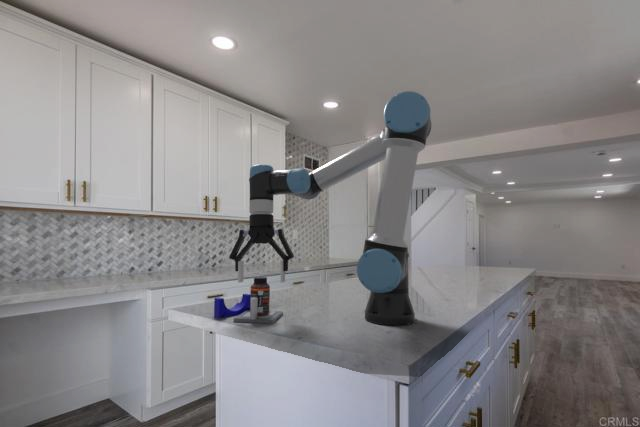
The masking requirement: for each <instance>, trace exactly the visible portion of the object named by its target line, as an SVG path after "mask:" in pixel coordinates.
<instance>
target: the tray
mask: <svg viewBox="0 0 640 427" xmlns="http://www.w3.org/2000/svg"><path fill="white" fill-rule="evenodd" d="M257 305H258V298H251V311H250V310H247V311H245V312H243V313H242V314H240V315H236V316H235V317H234V318H233V323H254V324H255V323H256V324H274V323H275V322H277V321H278V319H280V318H281V317H282V316H284V311H283V310H269V314H267V315H263V316H257Z"/></svg>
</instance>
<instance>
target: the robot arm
mask: <svg viewBox="0 0 640 427" xmlns="http://www.w3.org/2000/svg"><path fill="white" fill-rule="evenodd" d="M383 121H384V123H385V124H384V128H383V129H382V130H381V133H380V134H379V135H378V136H375V137H373V138H372V139H370V140H368V141H366V142H364V143H363V144H360V145H359V146H357V147H355V148H353V149H351V150H350V151H347V152H346V153H344V154H342V155H340V156H338V157H337V158H335V159H333V160H331V161H328V162H327V163H326V164H324V165H322V166H319V167H318V168H315V169H314V170H313V171H310V172H309V171H308V170H307V169H305V168H289V169H282V170H274V168H273V166H272V165H268V164H254V165H252V166H251V167H250V169H249V179H248V183H249V207H248V208H249V212H248V213H249V214H250V215H249V222H248V225H249V229H248V230H245V229H240V230H239V233H238V238H237V239H236V242H235V245H234V246H233V248H232V250H231V252H230V254H229V257H228V258H229V259H230V260H233V261H234V267H235V268H234V269H235V272H237V283H243V282H244V260H242V259H243V258H244V257H245V255H246V254H247V253H248V252H249V250H250V249H251V248H252V247H253V245H257V244H259V245H260V244H269V245H270V246H271V247H272V248H273V250H274V251H275V252H276V254H278V256H279V257H280V258H281V260H280V283H285V282H286V272H288V271H289V261H290V260H292V259H294V257H295V255H294V253H293V251H292V249H291V247H290V245H289V243H288V241H287V239H286V236H285V232H284V229H283V228H279V229H275V228H274V215H273V214H274V196H278V195H291V196H295V197H299V198H301V199H302V200H303V199H304V200H315V198H317V197H318V196H319V195H320V194H321V192H323V191H325V190H326V189H329V188H331V187H332V186H335V185H337V184H339V183H341V182H343V181H345V180H347V179H349V178H351V177H352V176H354V175H357V174H358V173H360V172H362V171H364V170H366V169H368V168H371V167H372V166H374V165H376V164H378V163H380V162H382V161H384V163H383V169H382V174H381V181H380V187H379V191H378V197H377V201H376V202H377V204H376V210H375V214H374V218H373V220H374V221H373V226H372V232H371V234H369V235H368V236H367V237H365V239H364V245H363V251H362V255H360V257H359V259H358V261H357V265H356V275H357V279H358V280H359V282H360V283H361V284H362V286H363V287H364V288H365V289H367V290H368V291H370V294H369V297H368V301H367V303H366V306H365V309H364V319H365V320H366V321H367V322H371V323H374V324H379V325H386V326H387V325H388V326H403V325H410V324H413V323H415V322H416V316H415V315H416V314H415V310H414V307H413V303H412V300H411V298H410V294H409V291H410V290H409V258H410V257H409V256H410V255H409V248H408V246H409V245H408V244H407V243H406V241H405V239H404V236H405V231H406V226H407V225H406V224H407V219H408V213H409V208H410V202H411V196H412V190H413V185H414V181H415V180H414V179H415V173H416V167H417V161H418V155H419V153H420V152H421V151H423V150H425V148H426V145H427V144H426V143H427V139H428V138H429V136H430V133H431V130H432V120H431V107H430V104H429V102H428V100H427V99H426V97H424V96H423V95H422V94H420V93H418V92H416V91H411V90H410V91H409V90H407V91H401V92H398V93H396V94H395V95H393V97H391V98H390V99H389V100H388V101H387V103H386V104H385V107H384V109H383ZM275 235H276V236H277V237H278V238H279V240H280V243H281V245H282V247H283V249H284V251H285V252H284V251H283V250H282V248H281V247H280V246H279V244H278V243H277V242H276V240H274V238H273V237H274V236H275ZM247 236H249V237H250V238H249V239H248V241H247V243H246V244H245V245H244V246H243V248H242V249H241V247H242V245H243V243H244V241H245V239H246V237H247ZM240 249H241V250H240Z"/></svg>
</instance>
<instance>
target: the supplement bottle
mask: <svg viewBox="0 0 640 427" xmlns="http://www.w3.org/2000/svg"><path fill="white" fill-rule="evenodd" d="M270 288H271V286H270V284H268V277H266V276H254V277H253V283H252V284H251V285H250V293H249V294H250V311H251V298H258V305H257V316H263V315H267V314H269V311H270V300H271V299H270V291H271V290H270Z"/></svg>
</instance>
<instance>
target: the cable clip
mask: <svg viewBox="0 0 640 427" xmlns="http://www.w3.org/2000/svg"><path fill="white" fill-rule="evenodd" d="M213 301H214V304H213V305H214V306H213V317H214V318H217V319H222V318H223V319H224V318H228V317H234V316H238V315H240V314H242V313H243V312H245V311H247V310H250V293H243V294H242V297H241V300H240V302H236V303H235V305H234V306H233V307H230V308H228V307H227V306H226V303H225V299H224V298H223V297H214V300H213Z"/></svg>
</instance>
